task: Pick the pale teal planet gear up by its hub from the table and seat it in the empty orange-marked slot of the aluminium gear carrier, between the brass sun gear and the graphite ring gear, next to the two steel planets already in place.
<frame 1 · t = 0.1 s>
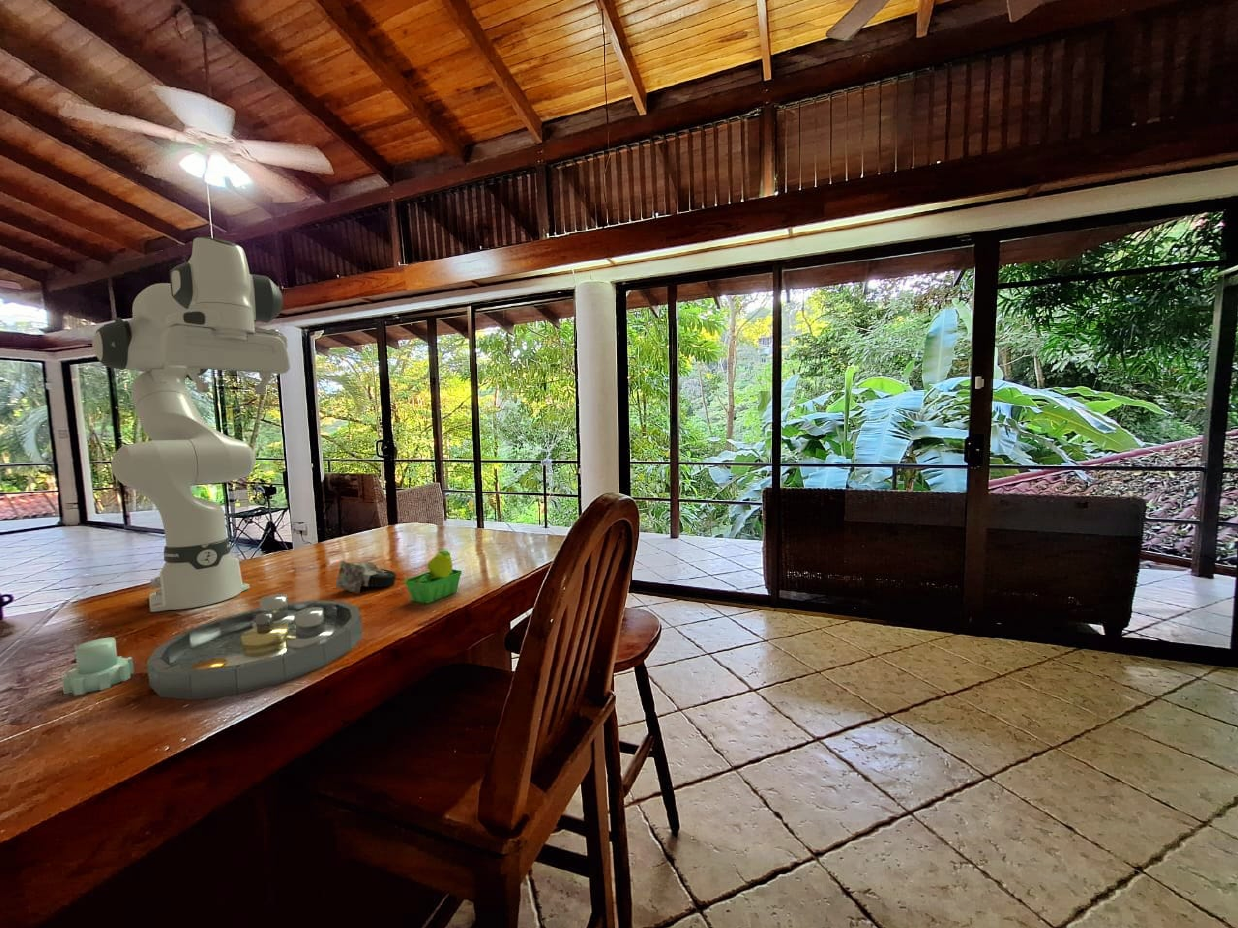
hand: (233, 393, 96), 48 cm above the table, fingers open, 8 cm apart
planet gear: (100, 682, 78), on the table
fruit basket: (437, 597, 114), on the table
gear carrier: (267, 652, 87), on the table
caster wheel: (370, 587, 123), on the table
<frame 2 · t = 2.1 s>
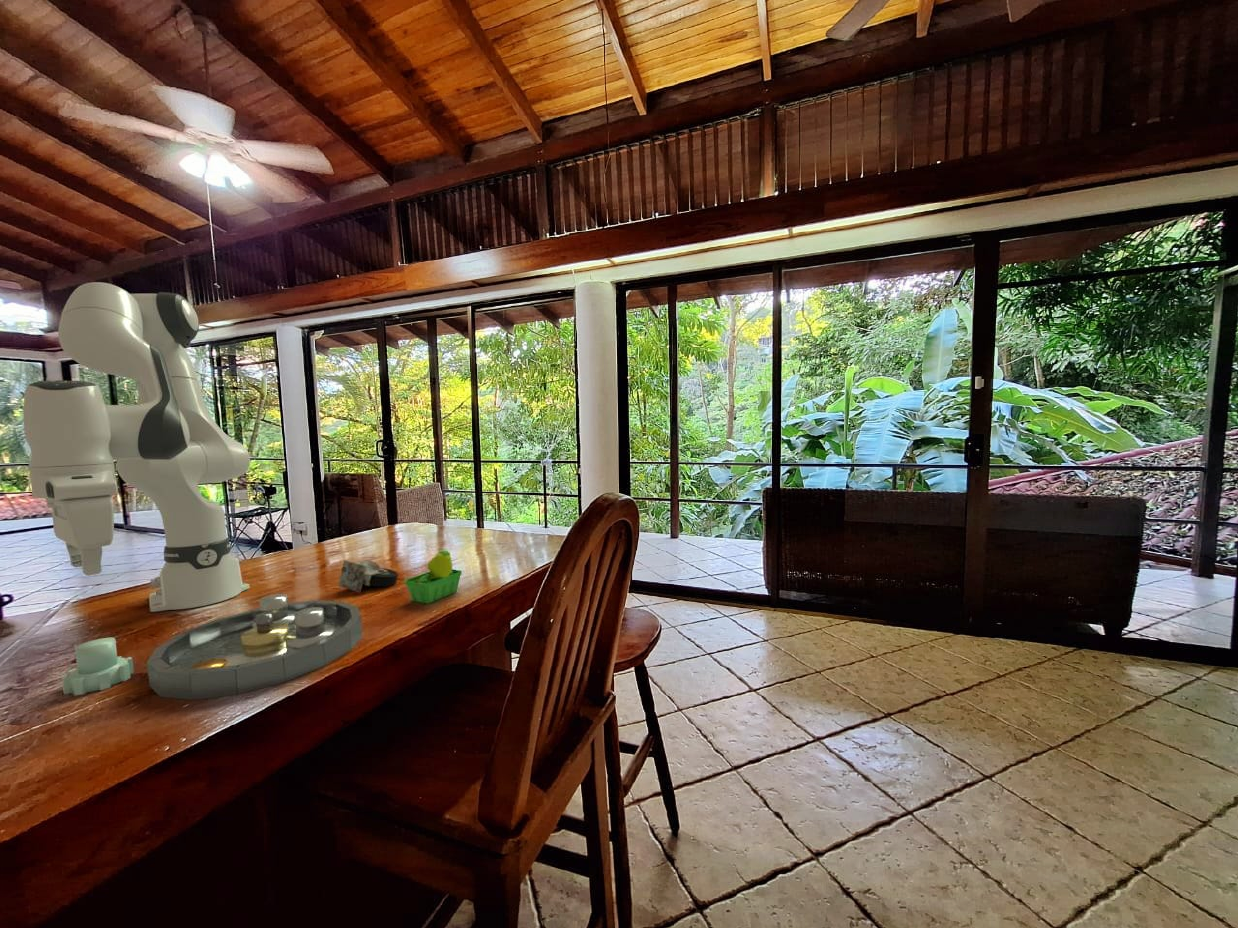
hand: (86, 569, 76), 19 cm above the table, fingers open, 8 cm apart
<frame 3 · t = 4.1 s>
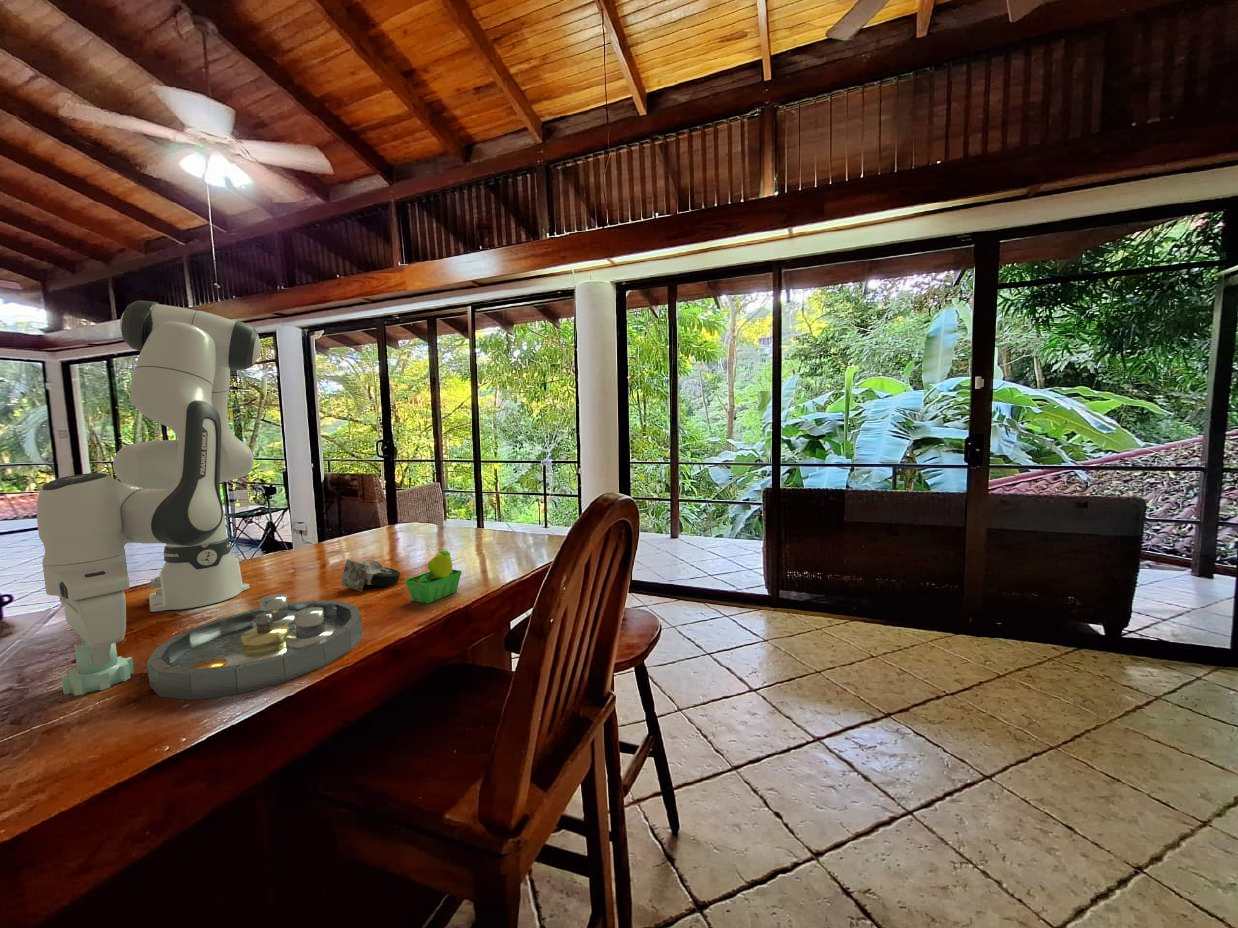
hand: (97, 659, 77), 4 cm above the table, fingers closed on planet gear, 4 cm apart
planet gear: (99, 682, 78), on the table, touching gripper
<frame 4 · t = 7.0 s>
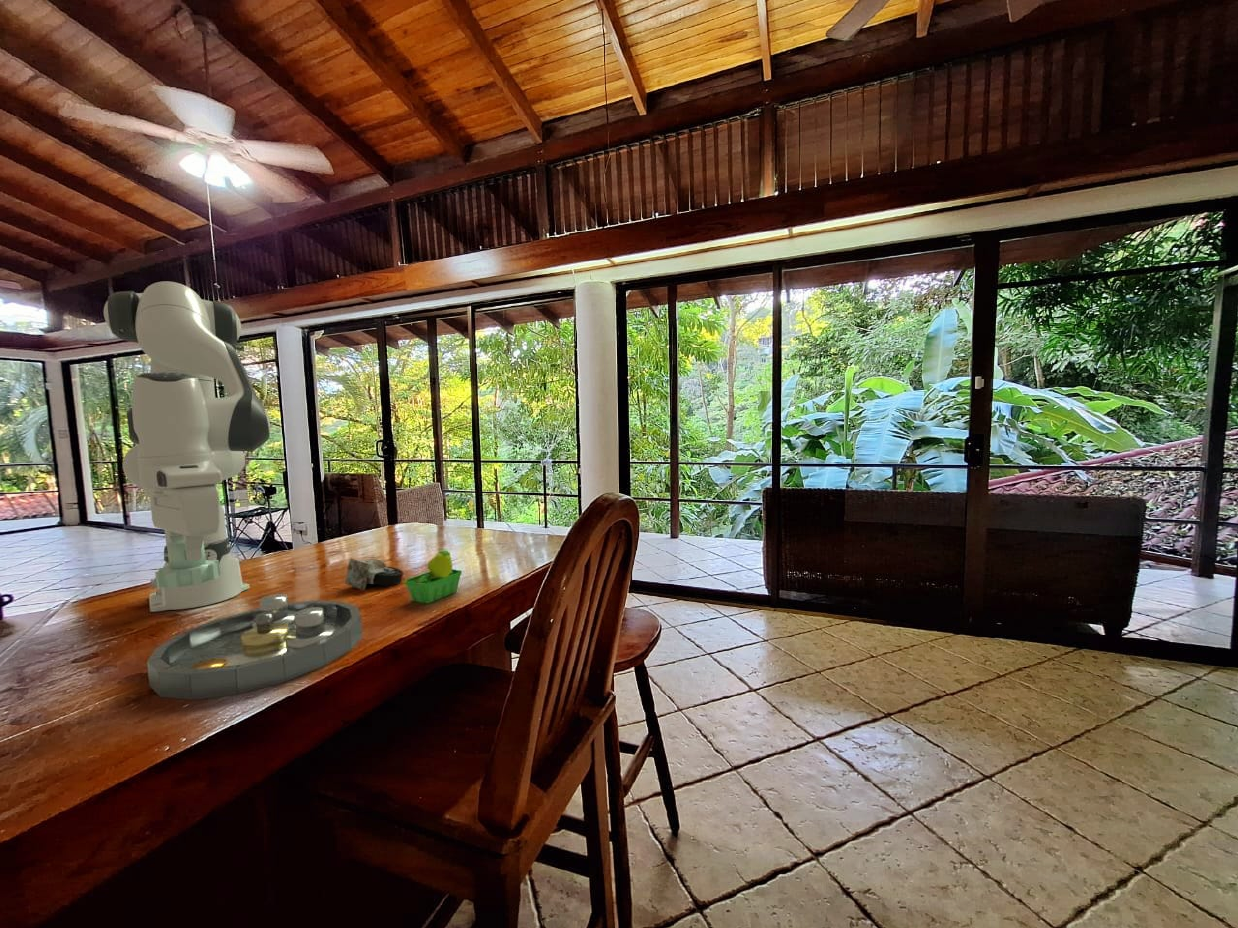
hand: (187, 558, 78), 20 cm above the table, fingers closed on planet gear, 4 cm apart
planet gear: (189, 580, 78), point 16 cm above the table, touching gripper
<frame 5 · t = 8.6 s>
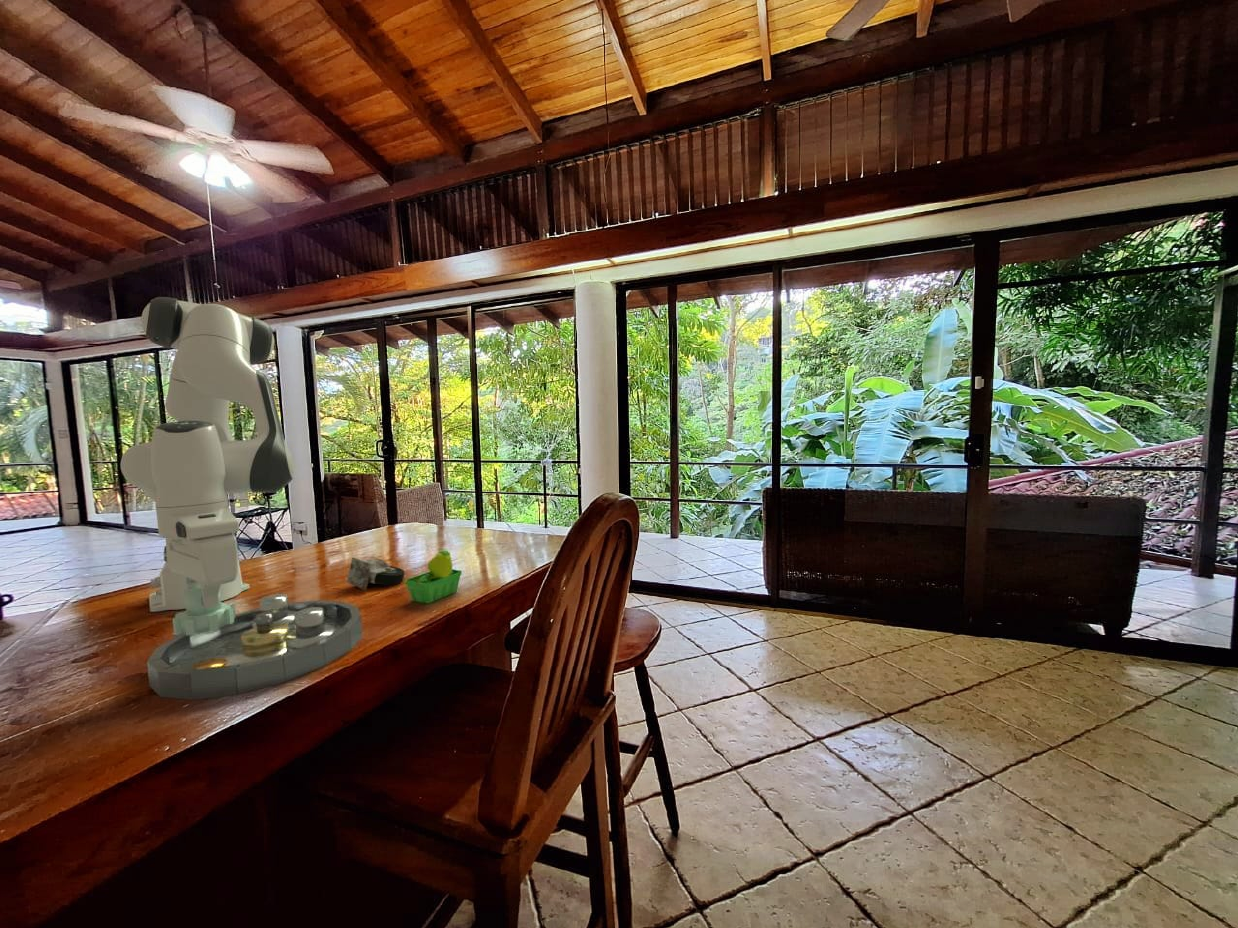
hand: (204, 603, 79), 12 cm above the table, fingers closed on planet gear, 4 cm apart
planet gear: (206, 625, 79), point 8 cm above the table, touching gripper
when the fingers open (6 cm above the table, at t = 10.0 s): planet gear drops 1 cm, resting on gear carrier.
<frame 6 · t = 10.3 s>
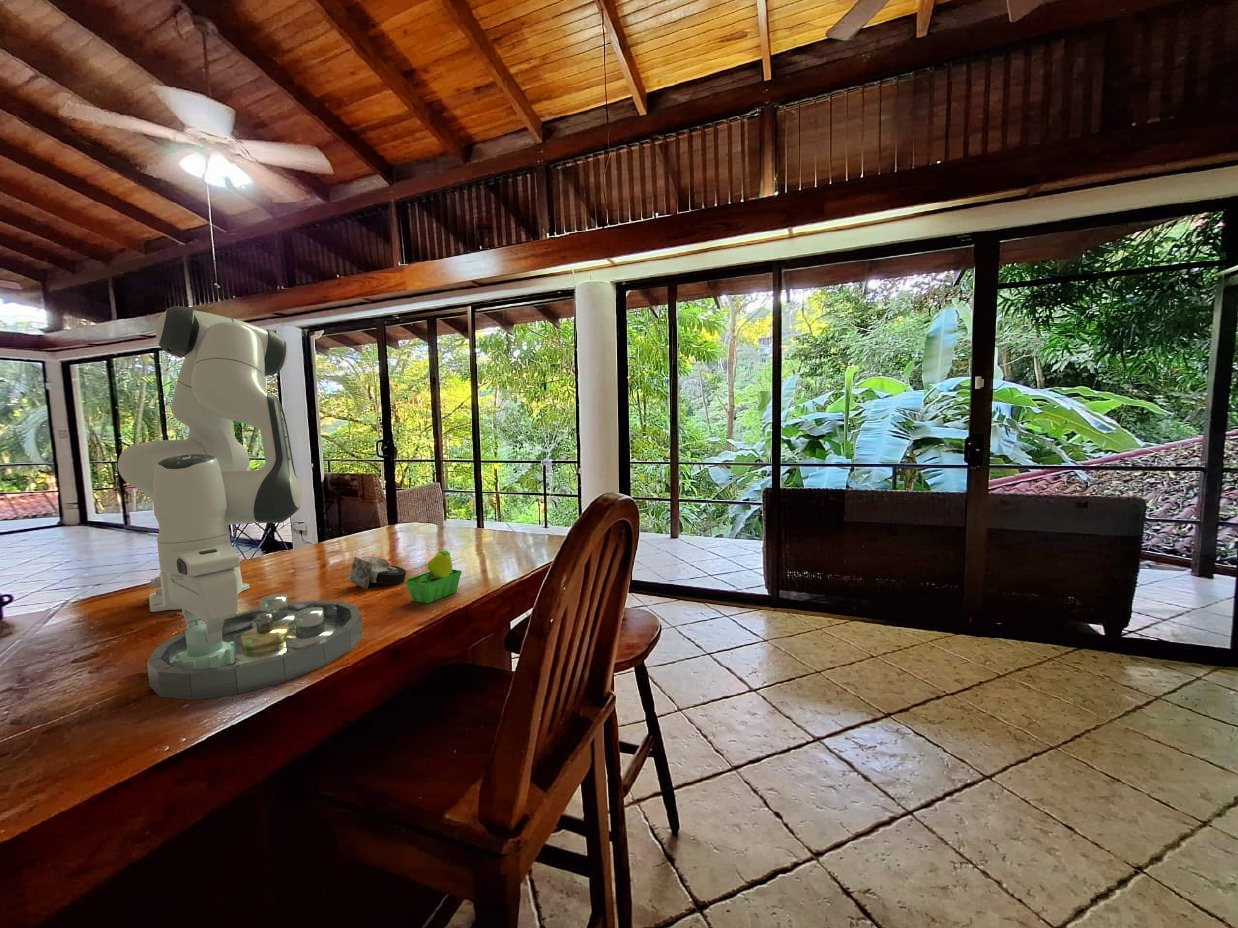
hand: (204, 636, 79), 6 cm above the table, fingers open, 7 cm apart
planet gear: (206, 665, 80), point 1 cm above the table, touching gear carrier
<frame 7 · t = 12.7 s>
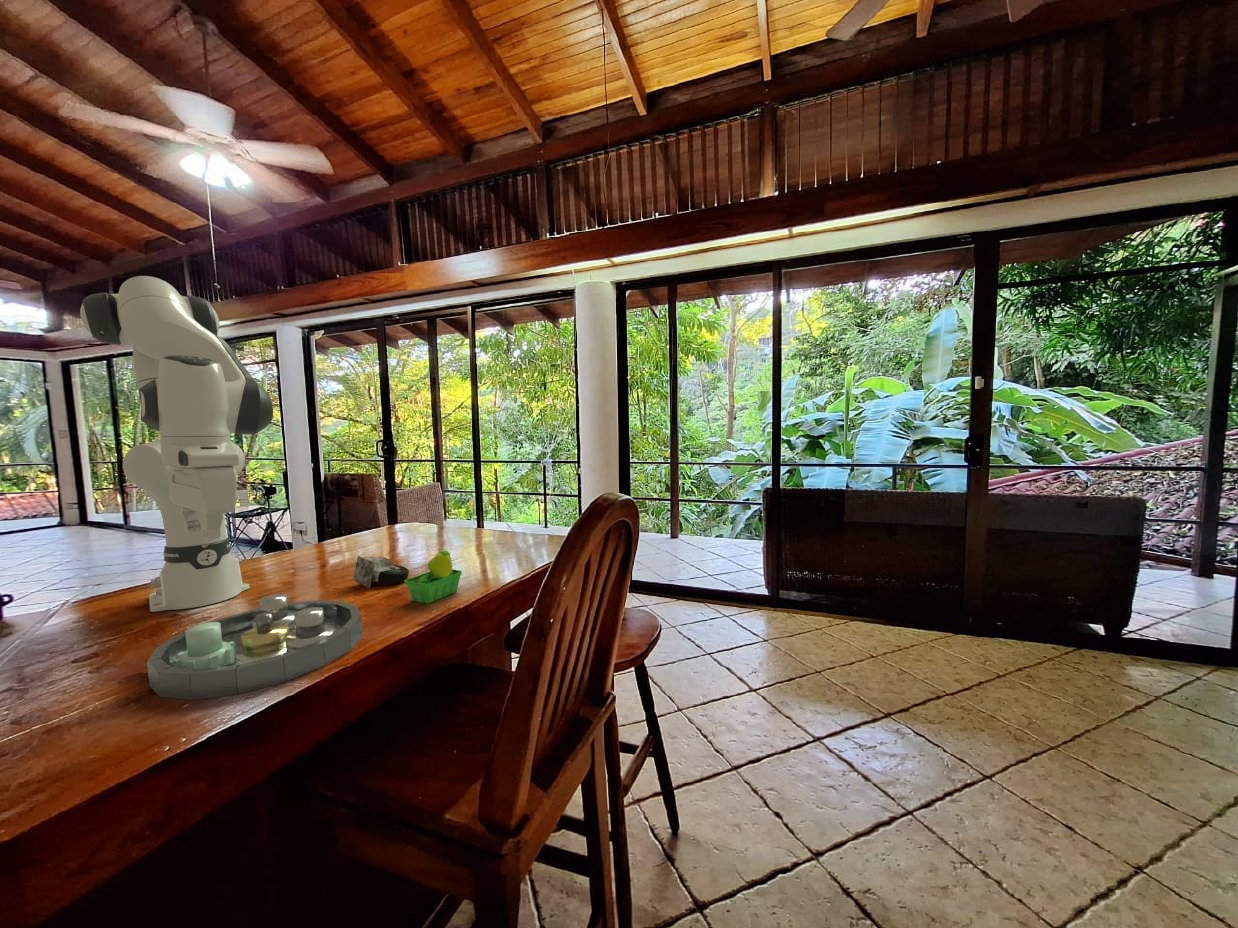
hand: (202, 534, 81), 23 cm above the table, fingers open, 8 cm apart
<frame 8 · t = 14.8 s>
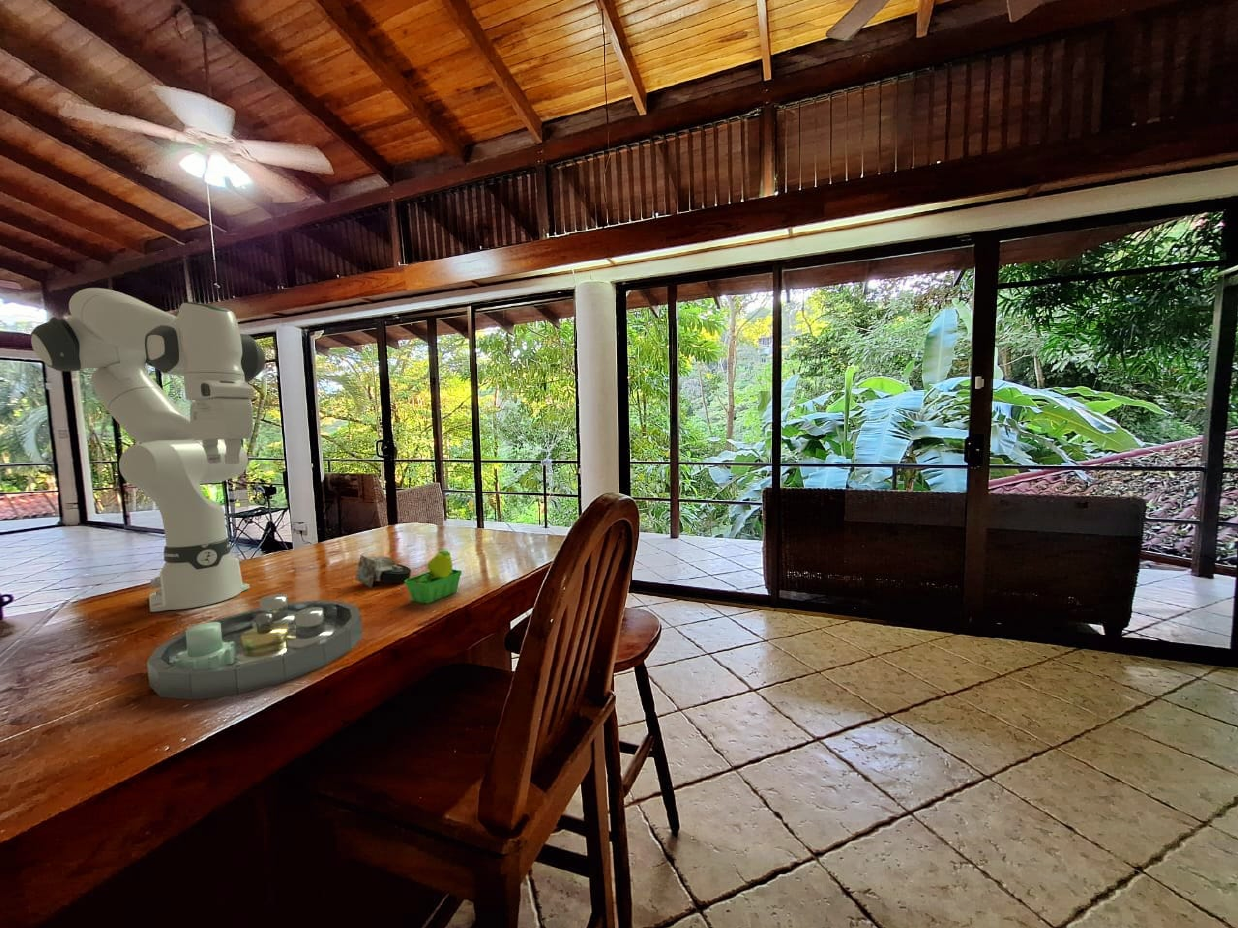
hand: (223, 463, 91), 34 cm above the table, fingers open, 8 cm apart
at the end: planet gear 0.1 cm from the target spot on the gear carrier, point 1.3 cm above the gear carrier's base; planet gear tilted 0°; the gripper is holding nothing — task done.
